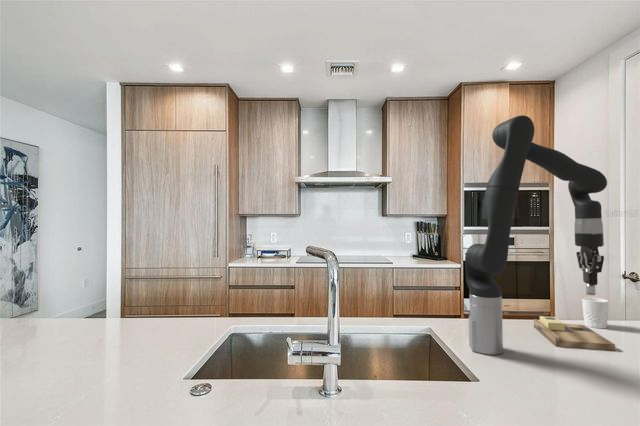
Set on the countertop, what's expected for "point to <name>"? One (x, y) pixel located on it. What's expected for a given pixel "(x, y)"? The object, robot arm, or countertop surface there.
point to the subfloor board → (575, 337)
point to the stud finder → (552, 323)
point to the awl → (589, 288)
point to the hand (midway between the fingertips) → (590, 283)
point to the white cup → (595, 312)
